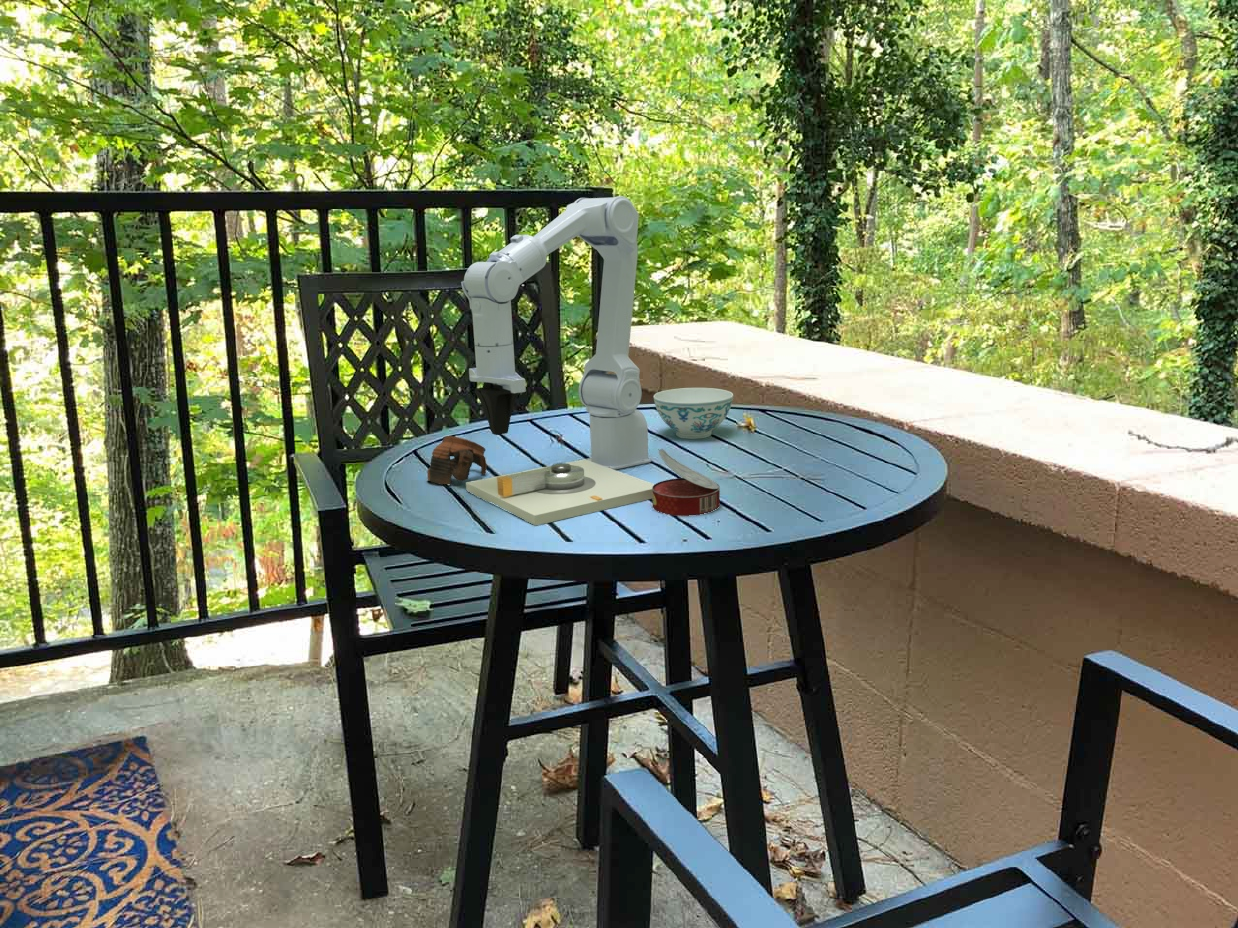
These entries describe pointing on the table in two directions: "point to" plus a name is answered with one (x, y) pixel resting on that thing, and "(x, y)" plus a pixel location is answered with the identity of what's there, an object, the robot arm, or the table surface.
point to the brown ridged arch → (455, 460)
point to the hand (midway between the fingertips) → (499, 433)
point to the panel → (568, 495)
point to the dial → (542, 479)
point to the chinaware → (693, 410)
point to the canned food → (685, 491)
